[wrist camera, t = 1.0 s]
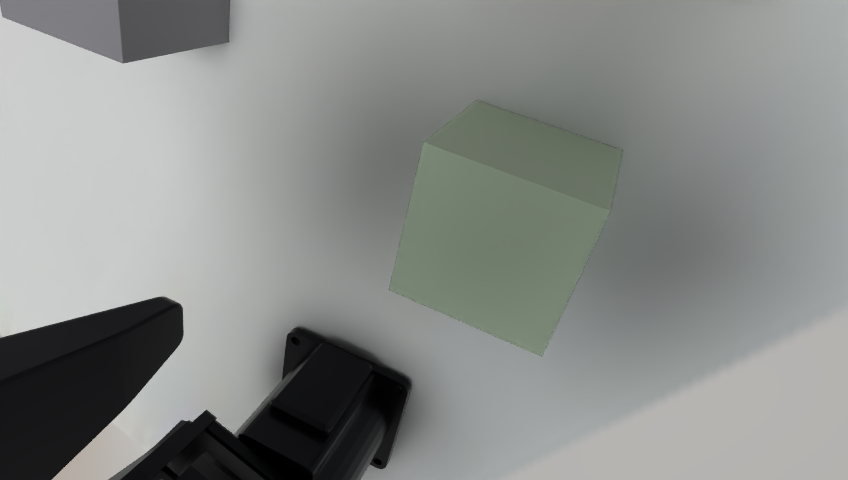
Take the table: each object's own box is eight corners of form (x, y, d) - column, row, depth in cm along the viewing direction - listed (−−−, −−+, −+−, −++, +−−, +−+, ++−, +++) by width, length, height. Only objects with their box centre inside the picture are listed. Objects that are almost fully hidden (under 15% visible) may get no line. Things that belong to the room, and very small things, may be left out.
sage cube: (566, 273, 20) (542, 356, 16) (442, 223, 21) (388, 289, 17) (622, 149, 17) (610, 211, 13) (477, 99, 18) (423, 142, 14)
